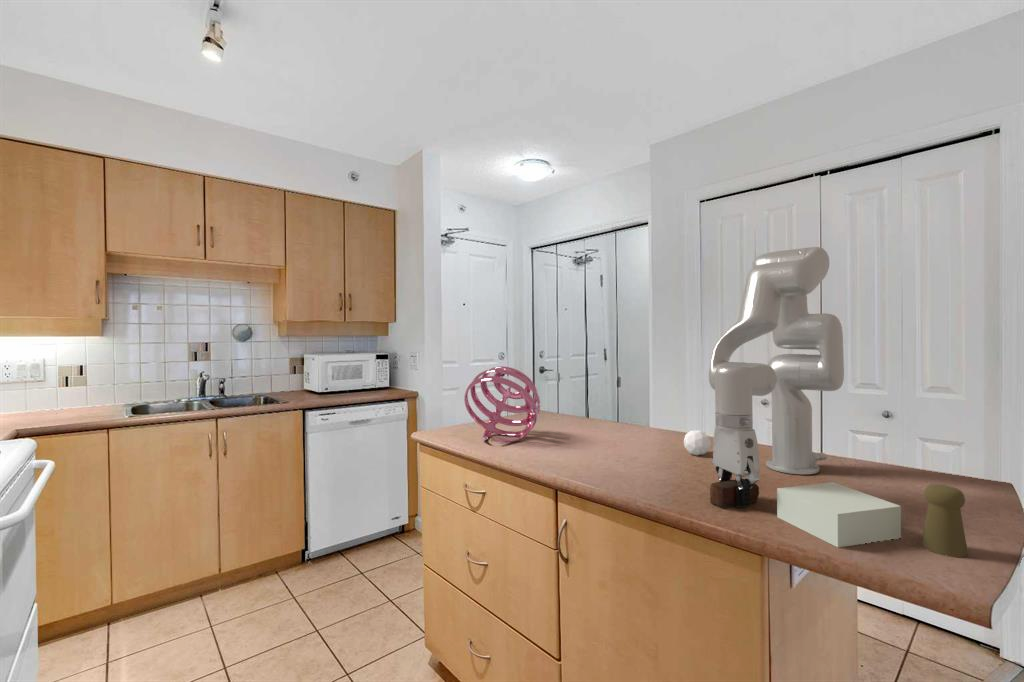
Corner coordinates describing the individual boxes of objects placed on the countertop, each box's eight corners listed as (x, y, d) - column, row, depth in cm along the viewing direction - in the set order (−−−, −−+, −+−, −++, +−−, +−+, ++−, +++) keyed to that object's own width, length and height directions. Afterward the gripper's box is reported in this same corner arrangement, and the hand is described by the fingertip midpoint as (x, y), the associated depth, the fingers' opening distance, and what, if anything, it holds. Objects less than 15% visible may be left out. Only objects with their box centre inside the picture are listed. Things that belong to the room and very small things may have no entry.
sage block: (833, 510, 99) (833, 482, 99) (901, 538, 86) (900, 506, 85) (777, 517, 96) (776, 488, 96) (837, 547, 83) (837, 514, 82)
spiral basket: (500, 395, 147) (525, 344, 167) (436, 409, 162) (466, 361, 182) (541, 455, 158) (561, 400, 178) (478, 463, 173) (502, 412, 193)
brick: (723, 510, 101) (723, 488, 100) (709, 503, 104) (709, 482, 104) (759, 502, 105) (759, 481, 104) (744, 496, 108) (744, 476, 108)
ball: (702, 462, 146) (717, 441, 146) (697, 459, 139) (713, 437, 139) (681, 447, 150) (696, 427, 150) (676, 443, 144) (691, 422, 144)
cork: (911, 542, 84) (911, 481, 84) (942, 540, 85) (942, 480, 84) (945, 558, 78) (945, 493, 78) (978, 556, 78) (978, 491, 78)
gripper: (777, 427, 97) (777, 514, 97) (723, 413, 113) (724, 488, 113) (745, 429, 95) (746, 518, 95) (696, 415, 112) (697, 490, 112)
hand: (734, 500), depth 104 cm, fingers closed on brick, 4 cm apart
